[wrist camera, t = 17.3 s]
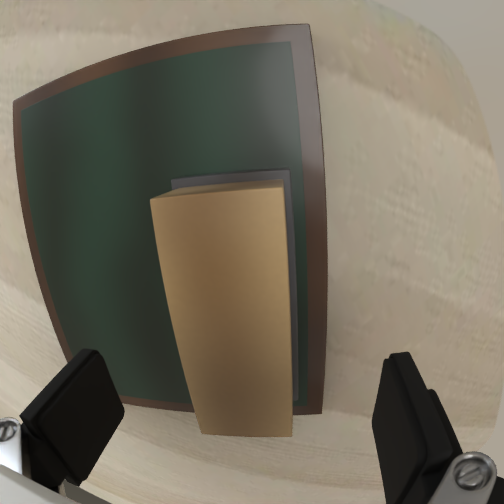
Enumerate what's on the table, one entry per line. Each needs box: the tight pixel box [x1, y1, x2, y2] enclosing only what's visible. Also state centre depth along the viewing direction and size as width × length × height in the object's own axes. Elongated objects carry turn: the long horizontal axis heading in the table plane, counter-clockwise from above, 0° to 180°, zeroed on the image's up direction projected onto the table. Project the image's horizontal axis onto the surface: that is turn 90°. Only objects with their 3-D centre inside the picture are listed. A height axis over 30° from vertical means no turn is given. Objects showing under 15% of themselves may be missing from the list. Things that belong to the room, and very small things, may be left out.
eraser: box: [150, 167, 298, 437], centre depth 14 cm, size 5×12×4 cm, turn 5°
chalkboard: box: [13, 24, 328, 415], centre depth 16 cm, size 18×22×1 cm
